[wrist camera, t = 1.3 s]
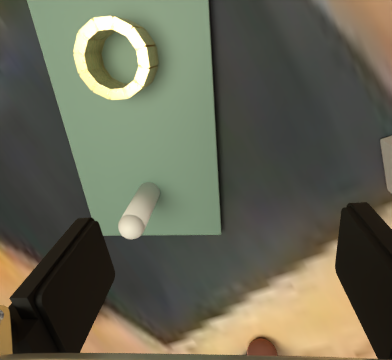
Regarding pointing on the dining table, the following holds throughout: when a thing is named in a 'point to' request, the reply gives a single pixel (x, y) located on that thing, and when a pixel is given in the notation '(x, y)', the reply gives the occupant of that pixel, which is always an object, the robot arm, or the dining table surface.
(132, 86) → the brass ring
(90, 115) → the post board
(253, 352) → the figurine character
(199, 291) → the dining table surface
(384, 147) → the milk carton
